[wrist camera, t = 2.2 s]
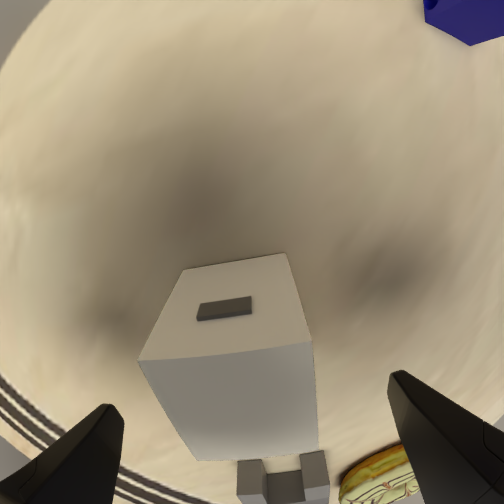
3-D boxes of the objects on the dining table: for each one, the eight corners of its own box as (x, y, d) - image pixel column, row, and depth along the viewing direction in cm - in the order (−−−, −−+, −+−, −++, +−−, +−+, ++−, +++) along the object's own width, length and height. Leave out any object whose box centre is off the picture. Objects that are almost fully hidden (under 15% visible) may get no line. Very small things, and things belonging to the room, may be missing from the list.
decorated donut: (359, 493, 22) (365, 519, 19) (315, 474, 19) (320, 508, 16) (442, 451, 20) (454, 475, 16) (424, 419, 17) (440, 453, 14)
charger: (285, 249, 12) (311, 335, 6) (303, 392, 15) (319, 482, 9) (182, 266, 12) (134, 356, 7) (227, 402, 15) (220, 491, 10)
